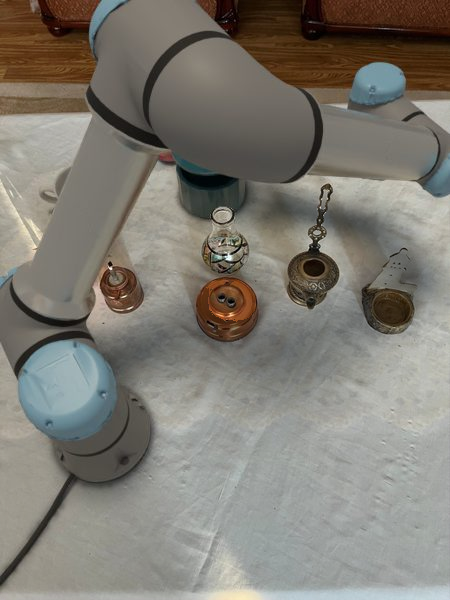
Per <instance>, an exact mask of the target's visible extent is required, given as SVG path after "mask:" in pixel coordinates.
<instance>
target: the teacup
mask: <svg viewBox="0 0 450 600" xmlns="http://www.w3.org/2000/svg"><path fill="white" fill-rule="evenodd" d="M71 166H72V164H70V165H68V166H66V167H64V168H63V169H62V170H59V173H57V175H56V176H55V178H54V180H53V184H42V185H41V186H40V187H39V189H38V195H39V197H40V198H41V199H42V201H45V202H47V203H49V204H52V205H53V204H54V205H56V202H57V200H58V198H59V195H60V193H61V190H62V188H63V186H64V183H65V181H66V178H67V176H68V174H69V171H70V169H71ZM46 192H50V193H52V194H53V195H54V196H52V195H49V194H47V193H46Z"/></svg>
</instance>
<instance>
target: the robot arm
mask: <svg viewBox="0 0 450 600" xmlns="http://www.w3.org/2000/svg"><path fill="white" fill-rule="evenodd" d="M88 41H89V45H90V50H91V54H92V57H93V59H94V60H95V61H96V66H95V69H94V71H93V74H92V77H91V78H90V79H91V80H90V82H89V84H88V87H87V90H86V92H85V95H84V101H85V104H86V105H87V108H88V110H89V112H90V115H91V119H90V121H89V123H88V126H87V128H86V131H85V133H84V135H83V138H82V140H81V142H80V145H79V148H78V150H77V152H76V154H75V156H74V159H73V162H72V164H71V165H72V166H71V169H70V171H69V174H68V176H67V178H66V181H65V183H64V186H63V188H62V190H61V193H60V195H59V198H58V200H57V202H56V204H54V207H53V210H52V212H51V214H50V217H49V219H48V221H47V224H46V226H45V229H44V231H43V234H42V236H41V238H40V241H39V243H38V246H37V248H36V251H35V252H34V255H33V258H32V260H29V261H26V262H23V263H21V264H20V265H18V266H15V267H13V268H11V269H9V270H8V271H7V275H6V276H3V275H1V276H0V345H1V347H2V350H3V352H4V354H5V356H6V359H7V360H8V363H9V365H10V368H11V369H12V372H13V374H14V376H15V378H16V381H17V396H18V401H19V404H20V407H21V408H22V411H23V413H24V415H25V417H26V419H27V420H28V421H29V422H30V423H31V424H32V425H33V426H34V427H35V429H36V430H38V431H39V432H40V433H42V434H44V435H45V436H46V437H48V438H49V439H50V440H51V441H52V442H53V448H54V451H55V453H56V454H55V455H56V456H57V458H58V460H59V462H60V463H61V465H62V466H63V467H64V468H65V469H66V471H68V472H69V473H70V474H69V475H68V476H67V479H66V480H65V482H64V484H63V486H62V487H61V489H60V490H59V492H58V493H57V495H56V497H55V499H54V501H53V502H52V505H51V506H50V508H49V509H48V511H47V513H46V514H45V516H44V517H43V518H42V520H41V521H40V522H39V525H38V526H37V528H36V529H35V530H34V532H33V534H32V535H31V537H30V538H29V539H28V540H27V541H26V543H25V544H24V546H23V547H22V549H21V550H20V551H19V552H18V554H17V555H16V557H14V558H13V560H12V562H11V563H9V565H8V566H7V568H6V569H5V570H4V571H3V572H2V573H1V574H0V585H1V584H2V583H3V581H4V580H6V578H7V577H8V576H9V575H10V574H11V573H12V571H13V570H14V569H15V567H16V566H17V565H18V564H19V562H20V561H21V560H22V559H23V557H24V556H25V555H26V553H27V552H28V551H29V550H30V548H31V547H32V545H33V544H34V542H35V541H36V540H37V538H38V537H39V535H40V534H41V532H42V531H43V529H44V528H45V526H46V525H47V524H48V522H49V521H50V519H51V517H52V516H53V514H54V513H55V511H56V509H57V508H58V506H59V504H60V502H61V500H62V498H63V497H64V495H65V493H66V491H67V490H68V488H69V486H70V485H71V484H72V481H73V480H74V479H75V477H76V478H78V479H80V480H83V481H85V482H89V483H90V482H91V483H106V482H110V481H115V480H117V479H119V478H121V477H124V475H126V474H127V473H129V472H130V471H131V470H133V469H134V468H135V466H137V465H138V464H139V462H140V461H141V460H142V458H143V456H144V455H145V453H146V451H147V449H148V447H149V444H150V439H151V421H150V417H149V414H148V412H147V408H146V407H145V406H144V404H143V403H142V401H141V400H140V399H139V398H138V397H137V396H136V395H135V394H133V393H132V392H131V391H129V390H128V389H125V388H123V387H121V386H120V385H119V382H118V381H117V380H116V377H115V374H114V372H113V369H112V367H111V366H110V364H109V362H108V361H107V359H105V357H104V355H103V353H102V352H101V350H100V348H99V346H98V344H97V343H96V341H95V339H94V337H93V336H92V334H91V332H90V329H89V328H88V326H87V321H88V319H89V317H90V316H91V314H92V311H93V310H94V308H95V305H96V300H97V296H96V291H95V289H94V284H95V282H96V281H97V279H98V276H99V274H100V273H101V271H102V269H103V267H104V265H105V263H106V261H107V259H108V257H109V256H110V254H111V252H112V250H113V248H114V247H115V244H116V242H117V240H118V238H119V236H120V234H121V232H122V230H123V228H124V227H125V225H126V222H127V221H128V219H129V217H130V215H131V213H132V211H133V209H134V207H135V205H136V203H137V201H138V200H139V198H140V196H141V194H142V192H143V190H144V188H145V186H146V184H147V182H148V180H149V178H150V177H151V175H152V173H153V171H154V169H155V168H156V165H157V163H158V161H159V160H160V158H159V157H160V155H161V154H162V153H166V152H170V151H173V152H174V153H175V154H177V155H178V156H180V157H181V158H183V159H185V160H187V161H189V162H191V163H193V164H195V165H197V166H199V167H202V168H205V169H207V170H210V171H213V172H216V173H219V174H223V175H226V176H230V177H235V178H239V179H244V180H245V181H250V182H255V183H265V184H284V185H285V184H292V183H295V182H298V181H300V180H301V179H303V178H304V177H306V176H316V177H317V176H320V177H333V178H334V177H335V178H336V177H337V178H350V179H362V180H371V181H379V182H384V181H401V182H402V181H403V182H412V183H413V182H414V183H417V184H418V185H419V186H420V187H421V189H422V190H423V191H426V192H427V193H428V194H429V195H431V196H432V197H434V198H437V199H439V198H440V199H441V198H445V197H448V196H449V195H450V132H448V131H447V130H446V129H445V128H443V127H442V126H441V125H439V124H438V123H437V122H435V121H434V119H432V118H430V116H428V115H427V114H426V112H424V111H423V110H422V109H420V108H419V107H418V106H417V105H416V104H415V103H413V102H412V101H411V100H409V99H408V97H406V96H405V95H404V93H405V91H406V83H407V79H406V77H405V74H404V71H402V69H401V68H399V67H398V66H397V65H395V64H392V63H389V62H383V61H382V62H381V61H379V62H371V63H369V64H366V65H365V66H364V65H363V66H362V67H361V68H360V69H358V71H357V72H356V74H355V75H354V79H353V82H352V86H351V90H350V92H349V93H348V103H347V107H346V108H344V107H341V106H335V105H331V104H326V103H322V102H318V100H317V98H316V97H315V96H314V94H312V93H311V92H310V91H308V90H306V89H305V88H302V87H299V86H295V85H291V84H288V83H286V82H285V81H283V80H281V79H279V78H278V77H277V76H275V75H274V74H272V73H271V72H270V71H269V70H268V69H267V68H266V67H264V65H262V64H261V63H259V61H257V60H256V59H255V58H254V57H253V56H252V55H251V54H250V53H249V52H247V51H246V49H245V48H244V47H242V46H241V45H240V44H239V43H237V42H236V40H235V39H233V38H232V37H231V36H230V35H229V34H228V33H227V32H226V30H224V29H223V27H222V26H220V25H219V24H218V23H217V22H216V21H215V20H214V19H213V18H212V17H211V16H210V15H209V13H207V12H206V11H205V10H204V9H203V7H201V5H200V4H199V2H198V1H197V0H101V1H100V2H99V3H98V5H97V7H96V9H95V10H94V12H93V14H92V17H91V19H90V23H89V31H88Z"/></svg>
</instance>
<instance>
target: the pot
mask: <svg viewBox="0 0 450 600" xmlns="http://www.w3.org/2000/svg"><path fill="white" fill-rule="evenodd" d="M175 174H176V179H177V186H178V194H179V198H180V202H181V204H182V205H183V207H184V208H185V210H187V211H188V212H189V213H190V214H192V215H193V216H196V217H198V218H201V219H207V220H211V219H210V214H211V212H212V211H213V210H214V209H215V208H217V207H219V206H227V207H230V208H232V209H233V211H234V212H233V213H235V212H236V211H238V209H239V208H240V207H241V206H242V205H243V203H244V200H245V197H246V180H244V179H239V178H235V177H230V176H226V175H223V174H218V175H211V176H205V175H197V174H193V173H191V172H188V171H186V170H184V169H183V168H181V167H180V166H179V165H178V164H177V163H176V164H175Z"/></svg>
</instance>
